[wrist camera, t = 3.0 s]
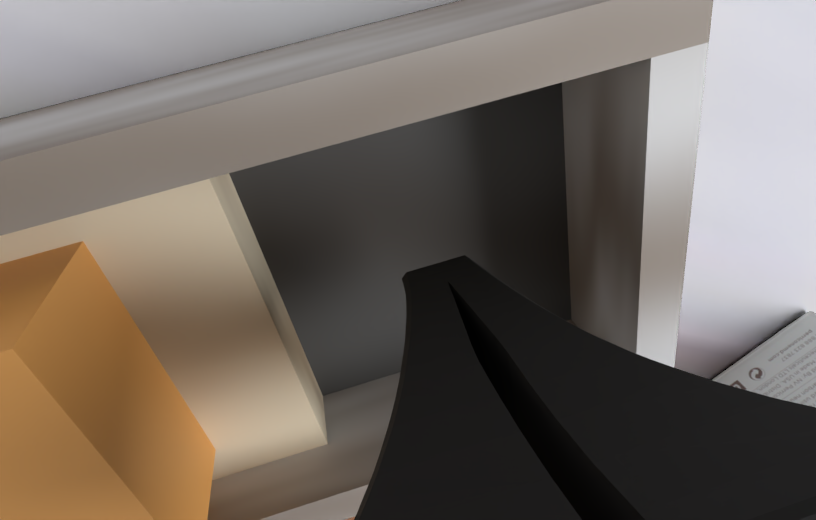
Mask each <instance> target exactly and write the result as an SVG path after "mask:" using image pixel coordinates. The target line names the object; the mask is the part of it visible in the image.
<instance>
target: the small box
mask: <svg viewBox="0 0 816 520" xmlns="http://www.w3.org/2000/svg"><path fill="white" fill-rule="evenodd" d="M712 380H713V381H716V382H719V383H722V384H726V385H729V386H733V387H736V388H740V389H744V390H747V391H751V392H754V393H758V394H762V395H765V396H769V397H773V398H777V399H780V400H785V401H789V402H794V403H798V404H803V405H807V406H812V407H816V313H814V312H811V311H809V312H807V313H805V314H804V315H802V316H801V317H799V318H798V319H797V320H795V321H794V322H792V323H791V324H789V325H788V326H786V327H785V328H783V329H782V330H781V331H779V332H778V333H776V334H775V335H774V336H772V337H771V338H770V339H768V340H767V341H765V342H764V343H762V344H761V345H760V346H758V347H757V348H755V349H754V350H753V351H751V352H750V353H749V354H747V355H746V356H744V357H743V358H742V359H740V360H739V361H738V362H736V363H735V364H733V365H732V366H731V367H729V368H728V369H726V370H725V371H723V372H722V373H721V374H719V375H718V376H716V377H715V378H714V379H712Z"/></svg>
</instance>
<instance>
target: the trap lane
mask: <svg viewBox="0 0 816 520" xmlns="http://www.w3.org/2000/svg"><path fill="white" fill-rule="evenodd" d="M712 7H713V0H461V1H457V2H453V3H449V4H445V5H441V6H437V7H434V8H430V9H426V10H422V11H418V12H414V13H410V14H406V15H402V16H399V17H395V18H391V19H387V20H383V21H379V22H375V23H371V24H367V25H364V26H360V27H356V28H352V29H348V30H344V31H340V32H336V33H333V34H329V35H325V36H321V37H317V38H313V39H309V40H305V41H301V42H298V43H294V44H290V45H286V46H282V47H278V48H274V49H270V50H266V51H263V52H259V53H255V54H251V55H247V56H243V57H239V58H235V59H231V60H228V61H224V62H220V63H216V64H212V65H208V66H204V67H200V68H196V69H193V70H189V71H185V72H181V73H177V74H173V75H169V76H165V77H162V78H158V79H154V80H150V81H146V82H142V83H138V84H134V85H130V86H127V87H123V88H119V89H115V90H111V91H107V92H103V93H99V94H95V95H92V96H88V97H84V98H80V99H76V100H72V101H68V102H64V103H60V104H57V105H53V106H49V107H45V108H41V109H37V110H33V111H29V112H25V113H22V114H18V115H14V116H10V117H6V118H2V119H0V264H2V263H5V262H9V261H13V260H16V259H20V258H24V257H27V256H31V255H34V254H38V253H42V252H45V251H49V250H52V249H56V248H60V247H63V246H67V245H70V244H74V243H78V242H81V241H83V242H84V243H85V245H86V246H87V248H88V250H89V251H90V253H91V254H92V256H93V257H94V259H95V261H96V262H97V264H98V265H99V267H100V268H101V270H102V272H103V273H104V275H105V276H106V278H107V279H108V281H109V283H110V284H111V286H112V287H113V289H114V290H115V292H116V294H117V295H118V297H119V298H120V300H121V302H122V303H123V305H124V306H125V308H126V309H127V311H128V313H129V314H130V316H131V317H132V319H133V320H134V322H135V324H136V325H137V327H138V328H139V330H140V331H141V333H142V335H143V336H144V338H145V339H146V341H147V342H148V344H149V346H150V347H151V349H152V350H153V352H154V353H155V355H156V357H157V358H158V360H159V361H160V363H161V364H162V366H163V368H164V369H165V371H166V372H167V374H168V375H169V377H170V379H171V380H172V382H173V383H174V385H175V386H176V388H177V390H178V391H179V393H180V394H181V396H182V397H183V399H184V401H185V402H186V404H187V405H188V407H189V408H190V410H191V412H192V413H193V415H194V416H195V418H196V419H197V421H198V423H199V424H200V426H201V427H202V429H203V430H204V432H205V434H206V435H207V437H208V438H209V440H210V441H211V443H212V445H213V446H214V448H215V449H216V451H215V460H214V468H213V476H212V485H211V493H210V501H209V510H208V518H207V520H345V519H348V518H351V517H354V516H356V514H357V512H358V509H359V507H360V504H361V502H362V499H363V497H364V494H365V492H366V490H367V487H368V485H369V482H370V480H371V477H372V474H373V472H374V469H375V466H376V463H377V460H378V457H379V454H380V451H381V448H382V445H383V441H384V438H385V435H386V432H387V428H388V425H389V421H390V418H391V414H392V410H393V406H394V402H395V397H396V393H397V388H398V383H399V378H400V372H401V365H402V358H403V352H404V344H405V331H406V294H405V289H404V286H403V282H402V278H403V276H404V275H405V273H406V272H409V271H412V270H416V269H419V268H423V267H426V266H429V265H433V264H436V263H440V262H443V261H446V260H450V259H453V258H457V257H460V256H463V255H465V256H467V257H469V258H471V259H472V260H473V261H475V262H476V263H477V264H479V265H480V266H481V267H483V268H484V269H485V270H487V271H488V272H490V273H491V274H492V275H494V276H495V277H497V278H498V279H499V280H501V281H502V282H504V283H505V284H507V285H508V286H510V287H511V288H513V289H514V290H516V291H517V292H519V293H520V294H522V295H523V296H525V297H527V298H528V299H530V300H531V301H533V302H535V303H536V304H538V305H539V306H541V307H543V308H544V309H546V310H548V311H549V312H551V313H553V314H555V315H556V316H558V317H560V318H562V319H564V320H565V321H567V322H569V323H571V324H573V325H575V326H576V327H578V328H580V329H582V330H584V331H586V332H588V333H590V334H592V335H594V336H597V337H599V338H601V339H603V340H606V341H608V342H610V343H612V344H615V345H617V346H619V347H621V348H624V349H626V350H628V351H631V352H633V353H636V354H638V355H641V356H643V357H646V358H648V359H651V360H654V361H657V362H659V363H662V364H665V365H668V366H671V367H673V368H674V365H675V356H676V346H677V337H678V328H679V318H680V309H681V299H682V290H683V280H684V271H685V261H686V252H687V243H688V233H689V224H690V214H691V205H692V195H693V186H694V176H695V167H696V158H697V148H698V139H699V129H700V120H701V110H702V101H703V92H704V82H705V73H706V63H707V54H708V44H709V35H710V25H711V16H712Z"/></svg>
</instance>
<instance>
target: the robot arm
mask: <svg viewBox="0 0 816 520" xmlns="http://www.w3.org/2000/svg"><path fill="white" fill-rule="evenodd" d="M402 282H403V286H404V289H405V294H406V331H405V344H404V352H403V358H402V365H401V372H400V378H399V383H398V388H397V393H396V397H395V402H394V406H393V410H392V414H391V418H390V421H389V425H388V428H387V432H386V435H385V438H384V441H383V445H382V448H381V451H380V454H379V457H378V460H377V463H376V466H375V469H374V472H373V474H372V477H371V480H370V482H369V485H368V487H367V490H366V492H365V494H364V497H363V499H362V502H361V504H360V507H359V509H358V512H357V514H356V517H355V519H354V520H816V407H812V406H807V405H803V404H798V403H794V402H789V401H785V400H780V399H777V398H773V397H769V396H765V395H762V394H758V393H754V392H751V391H747V390H744V389H740V388H736V387H733V386H729V385H726V384H722V383H719V382H716V381H713V380H709V379H706V378H703V377H700V376H697V375H693V374H690V373H687V372H685V371H682V370H679V369H676V368H673V367H671V366H668V365H665V364H662V363H659V362H657V361H654V360H651V359H648V358H646V357H643V356H641V355H638V354H636V353H633V352H631V351H628V350H626V349H624V348H621V347H619V346H617V345H615V344H612V343H610V342H608V341H606V340H603V339H601V338H599V337H597V336H594V335H592V334H590V333H588V332H586V331H584V330H582V329H580V328H578V327H576V326H575V325H573V324H571V323H569V322H567V321H565V320H564V319H562V318H560V317H558V316H556V315H555V314H553V313H551V312H549V311H548V310H546V309H544V308H543V307H541V306H539V305H538V304H536V303H535V302H533V301H531V300H530V299H528V298H527V297H525V296H523V295H522V294H520V293H519V292H517V291H516V290H514V289H513V288H511V287H510V286H508V285H507V284H505V283H504V282H502V281H501V280H499V279H498V278H497V277H495V276H494V275H492V274H491V273H490V272H488V271H487V270H485V269H484V268H483V267H481V266H480V265H479V264H477V263H476V262H475V261H473V260H472V259H471V258H469V257H467V256H465V255H463V256H460V257H457V258H453V259H450V260H446V261H443V262H440V263H436V264H433V265H429V266H426V267H423V268H419V269H416V270H412V271H409V272H406V273H405V275H404V276H403V278H402Z"/></svg>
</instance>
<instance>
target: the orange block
mask: <svg viewBox="0 0 816 520" xmlns="http://www.w3.org/2000/svg"><path fill="white" fill-rule="evenodd" d="M215 451H216V449H215V448H214V446H213V445H212V443H211V441H210V440H209V438H208V437H207V435H206V434H205V432H204V430H203V429H202V427H201V426H200V424H199V423H198V421H197V419H196V418H195V416H194V415H193V413H192V412H191V410H190V408H189V407H188V405H187V404H186V402H185V401H184V399H183V397H182V396H181V394H180V393H179V391H178V390H177V388H176V386H175V385H174V383H173V382H172V380H171V379H170V377H169V375H168V374H167V372H166V371H165V369H164V368H163V366H162V364H161V363H160V361H159V360H158V358H157V357H156V355H155V353H154V352H153V350H152V349H151V347H150V346H149V344H148V342H147V341H146V339H145V338H144V336H143V335H142V333H141V331H140V330H139V328H138V327H137V325H136V324H135V322H134V320H133V319H132V317H131V316H130V314H129V313H128V311H127V309H126V308H125V306H124V305H123V303H122V302H121V300H120V298H119V297H118V295H117V294H116V292H115V290H114V289H113V287H112V286H111V284H110V283H109V281H108V279H107V278H106V276H105V275H104V273H103V272H102V270H101V268H100V267H99V265H98V264H97V262H96V261H95V259H94V257H93V256H92V254H91V253H90V251H89V250H88V248H87V246H86V245H85V243H84V242H83V241H81V242H78V243H74V244H70V245H67V246H63V247H60V248H56V249H52V250H49V251H45V252H42V253H38V254H34V255H31V256H27V257H24V258H20V259H16V260H13V261H9V262H5V263H2V264H0V520H207V518H208V510H209V501H210V493H211V485H212V476H213V468H214V460H215Z"/></svg>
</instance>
